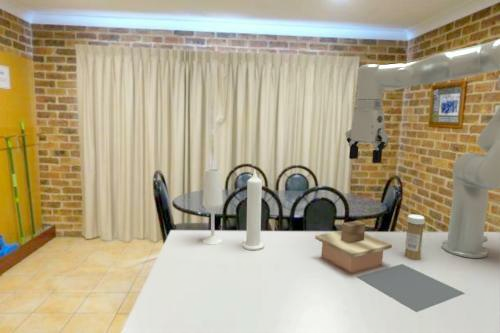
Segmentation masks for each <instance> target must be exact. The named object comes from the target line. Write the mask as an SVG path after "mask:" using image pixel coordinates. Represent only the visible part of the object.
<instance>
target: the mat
mask: <svg viewBox="0 0 500 333" xmlns="http://www.w3.org/2000/svg"><path fill="white" fill-rule="evenodd" d="M356 278H357V279H359V280H360V281H362V282H364V283H365V284H367V285H369V286H371V287H372V288H374V289H376V290H377V291H378V292H381V293H383V294H384V295H385V296H388V297H389V298H392V299H393V300H395V301H396V302H397V303H400V304H402V305H403V306H405V307H406V308H409V309H410V310H411V311H414V312H415V313H418V312H420V311H423V310H426V309H428V308H430V307H434V306H436V305H439V304H441V303H443V302H444V303H445V302H446V301H449V300H452V299H455V298H457V297H459V296H462V295H464V294H466V292H464V291H461V290H459V289H457V288H454V287H453V286H451V285H448V284H447V283H444V282H441V281H440V280H438V279H435V278H434V277H431V276H429V275H427V274H425V273H423V272H420V271H418V270H416V269H414V268H413V267H409V266H407V265H406V264H403V263H401V264H397V265H393V266H390V267H386V268H382V269H379V270H376V271H373V272H369V273H364V274H361V275H356Z"/></svg>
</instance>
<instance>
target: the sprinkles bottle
mask: <svg viewBox="0 0 500 333" xmlns="http://www.w3.org/2000/svg"><path fill="white" fill-rule="evenodd" d="M425 220H426V218H425V216H424V215H421V214H413V213H411V214H408V215H407V221H406V222H407V226H406V227H407V230H406V235H405V236H406V238H405V249H404V255H403V256H404V258H406V259H409V260H410V261H411V260H412V261H420V260H421V258H422V257H421V256H422V255H421V254H422V246H423V235H424V234H423V232H424V225H425Z"/></svg>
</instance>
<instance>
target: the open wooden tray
mask: <svg viewBox="0 0 500 333" xmlns="http://www.w3.org/2000/svg"><path fill="white" fill-rule="evenodd" d="M321 243H322V244H321V256H320V257H321V258H322V259H324V260H326V261H327V262H330V263H331V264H333V265H334V266H336V267H338V268H339V269H342V270H344V271H345V272H347V273H348V274H354V273H355V274H356V273H358V272H362V271H366V270H370V269H373V268H377V267H382V266H383V256H384V250H382V251H378V252H374V253H370V254H366V255H361V256H357V257H353V258H351V257H349V256H347V255H346V254H344V253H342V252H340V251H338V250H336V249H334V248H332V247H330V246H328V245H326V244H324V243H323V242H321Z"/></svg>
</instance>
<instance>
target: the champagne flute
mask: <svg viewBox="0 0 500 333" xmlns="http://www.w3.org/2000/svg"><path fill="white" fill-rule="evenodd" d="M221 174H222V173H221V169H219V168H209V169H208V168H207V169H205V173H204V184H203V193H202V206H203V207H204V208H205V210H206V211H207V212H209V213H210V235H209V236H207V237H205V238H204V239H202V243H203V244H206V245H213V246H214V245H220V244H221V243H222V242H223V241H224V240H223V239H222V238H220V237H219V236H217V235H216V234H215V214H216V213H217V212H218V211H220V209H221V208H222V207H223V204H224V198H223V186H222V185H223V184H222V175H221Z"/></svg>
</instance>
